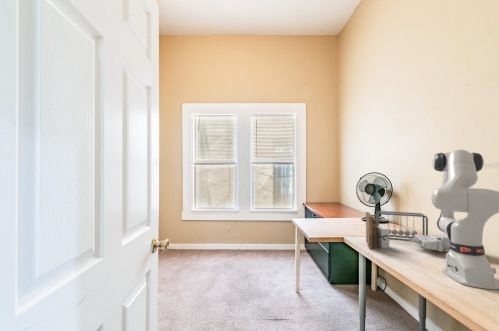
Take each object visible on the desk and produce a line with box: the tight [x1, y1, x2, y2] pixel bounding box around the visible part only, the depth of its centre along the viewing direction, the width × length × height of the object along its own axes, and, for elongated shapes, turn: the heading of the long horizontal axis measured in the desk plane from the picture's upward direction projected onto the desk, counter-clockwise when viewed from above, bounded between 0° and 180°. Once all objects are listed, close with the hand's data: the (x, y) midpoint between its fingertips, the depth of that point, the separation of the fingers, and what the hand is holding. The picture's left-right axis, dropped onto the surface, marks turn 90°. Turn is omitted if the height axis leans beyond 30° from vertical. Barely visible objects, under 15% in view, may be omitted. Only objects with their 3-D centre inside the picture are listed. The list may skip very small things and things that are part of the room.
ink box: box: [377, 225, 390, 249], centre depth 165 cm, size 9×5×12 cm, turn 177°
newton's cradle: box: [375, 210, 429, 242], centre depth 185 cm, size 30×10×18 cm, turn 68°
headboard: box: [365, 211, 378, 250], centre depth 168 cm, size 20×5×19 cm, turn 161°
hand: (409, 240), depth 161 cm, fingers closed
